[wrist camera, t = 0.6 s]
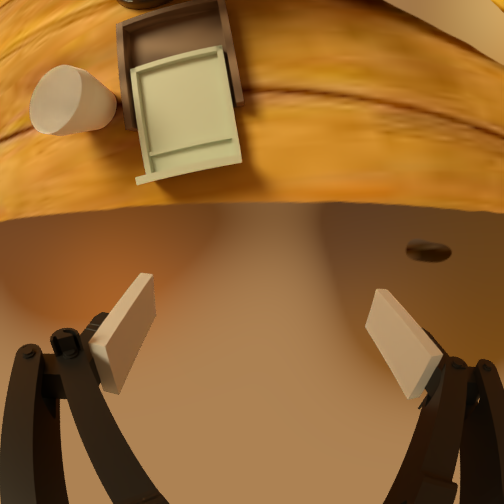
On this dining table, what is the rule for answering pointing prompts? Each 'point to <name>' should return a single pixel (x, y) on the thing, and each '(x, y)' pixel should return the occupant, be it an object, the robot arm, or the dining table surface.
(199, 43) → the dock
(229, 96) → the tray
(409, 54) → the dining table surface
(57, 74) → the cup
